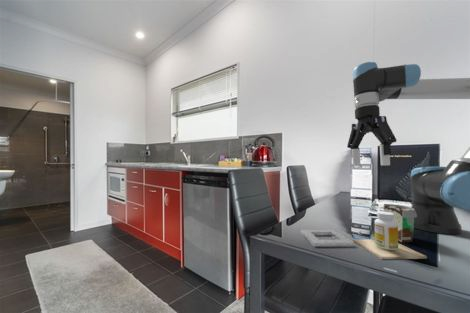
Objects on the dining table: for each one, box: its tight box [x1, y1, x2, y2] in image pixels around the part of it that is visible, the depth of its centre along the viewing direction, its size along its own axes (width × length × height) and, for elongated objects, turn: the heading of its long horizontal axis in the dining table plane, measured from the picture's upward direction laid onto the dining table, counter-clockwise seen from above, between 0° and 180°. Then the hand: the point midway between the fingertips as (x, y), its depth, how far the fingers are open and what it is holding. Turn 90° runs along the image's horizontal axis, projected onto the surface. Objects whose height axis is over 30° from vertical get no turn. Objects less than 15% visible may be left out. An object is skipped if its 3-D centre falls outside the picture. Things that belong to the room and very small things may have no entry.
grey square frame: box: [299, 229, 356, 248], centre depth 66 cm, size 12×12×1 cm
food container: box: [382, 203, 417, 243], centre depth 68 cm, size 12×6×10 cm, turn 168°
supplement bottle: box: [374, 210, 399, 250], centre depth 59 cm, size 5×5×10 cm
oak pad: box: [352, 238, 428, 260], centre depth 59 cm, size 12×12×1 cm
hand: (369, 165), depth 73 cm, fingers open, 13 cm apart
